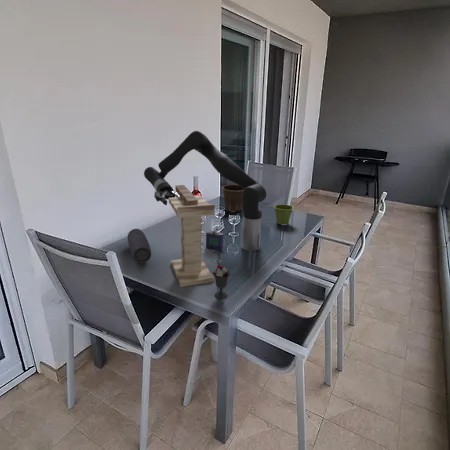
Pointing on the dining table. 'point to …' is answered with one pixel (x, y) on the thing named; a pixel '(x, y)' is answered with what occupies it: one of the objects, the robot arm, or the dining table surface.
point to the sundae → (221, 280)
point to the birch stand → (191, 242)
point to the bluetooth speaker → (139, 246)
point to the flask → (214, 240)
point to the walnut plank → (186, 195)
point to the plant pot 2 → (283, 213)
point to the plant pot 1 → (233, 197)
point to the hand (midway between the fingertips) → (174, 203)
